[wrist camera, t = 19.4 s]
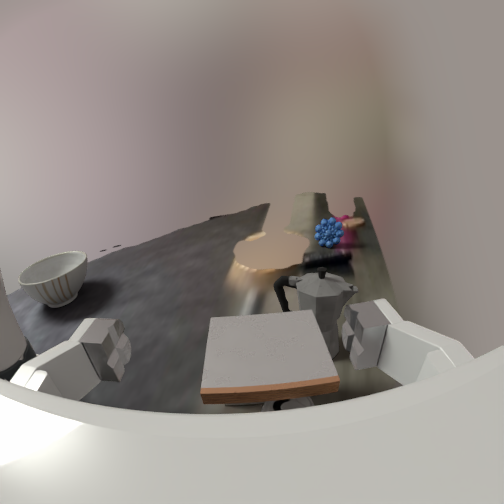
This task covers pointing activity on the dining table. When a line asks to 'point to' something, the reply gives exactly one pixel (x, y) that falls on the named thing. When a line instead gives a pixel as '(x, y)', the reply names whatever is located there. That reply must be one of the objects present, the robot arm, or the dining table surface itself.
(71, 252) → the decorative bowl
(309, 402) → the beverage can
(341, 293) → the coffeepot
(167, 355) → the dining table surface
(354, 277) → the dining table surface
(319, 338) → the wood-edged grey shelf
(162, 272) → the dining table surface
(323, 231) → the blue bumpy cluster
